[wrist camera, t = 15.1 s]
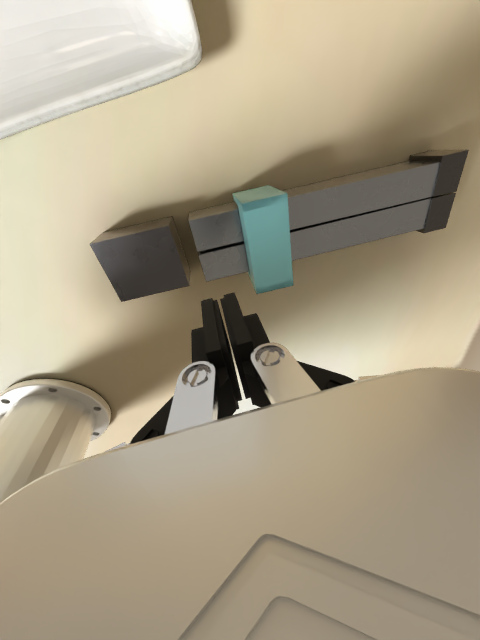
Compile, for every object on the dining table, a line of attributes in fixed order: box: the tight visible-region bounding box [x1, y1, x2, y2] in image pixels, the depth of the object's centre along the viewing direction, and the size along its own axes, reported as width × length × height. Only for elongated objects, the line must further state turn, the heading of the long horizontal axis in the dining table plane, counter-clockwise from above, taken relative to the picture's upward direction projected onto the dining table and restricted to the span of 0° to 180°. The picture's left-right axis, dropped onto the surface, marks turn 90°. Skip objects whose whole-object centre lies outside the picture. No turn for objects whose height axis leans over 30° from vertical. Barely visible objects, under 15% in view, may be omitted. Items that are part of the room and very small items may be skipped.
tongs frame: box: [90, 150, 468, 302], centre depth 21 cm, size 29×6×3 cm, turn 100°
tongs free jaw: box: [198, 192, 456, 282], centre depth 22 cm, size 22×3×3 cm, turn 100°
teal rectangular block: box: [232, 185, 293, 294], centre depth 20 cm, size 3×7×5 cm, turn 10°
